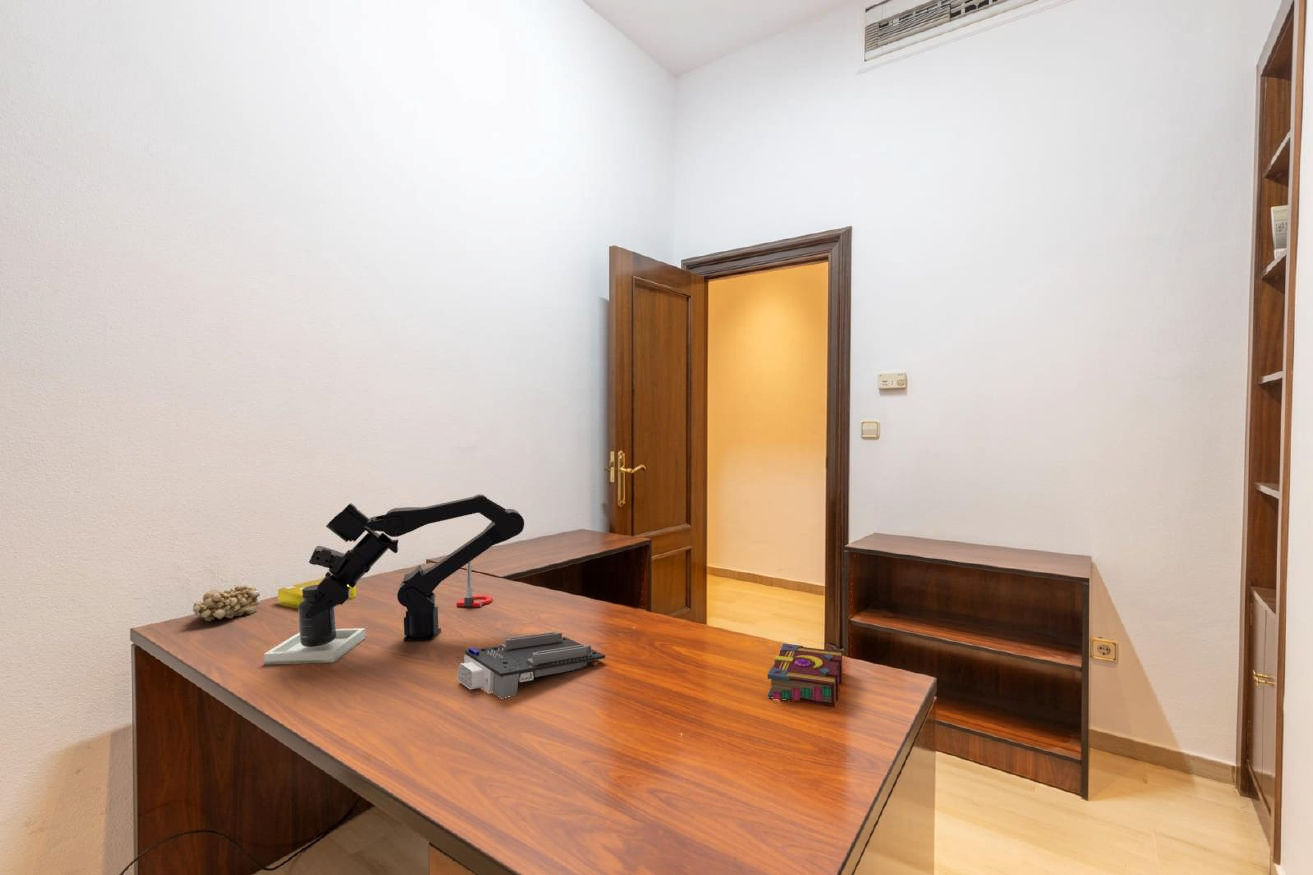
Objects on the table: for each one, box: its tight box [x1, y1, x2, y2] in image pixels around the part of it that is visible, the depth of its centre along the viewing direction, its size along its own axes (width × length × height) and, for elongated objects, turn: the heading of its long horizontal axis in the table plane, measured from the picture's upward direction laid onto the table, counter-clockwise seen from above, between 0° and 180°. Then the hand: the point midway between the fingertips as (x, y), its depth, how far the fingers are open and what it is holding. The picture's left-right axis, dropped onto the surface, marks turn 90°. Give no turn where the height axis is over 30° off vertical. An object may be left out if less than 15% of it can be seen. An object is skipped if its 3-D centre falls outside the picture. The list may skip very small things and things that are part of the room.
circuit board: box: [456, 631, 606, 700], centre depth 116 cm, size 25×7×15 cm
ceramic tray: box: [263, 627, 366, 666], centre depth 129 cm, size 14×14×2 cm
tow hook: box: [456, 560, 494, 609], centre depth 162 cm, size 8×13×9 cm
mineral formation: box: [192, 583, 262, 622], centre depth 153 cm, size 8×13×15 cm
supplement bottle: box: [297, 585, 337, 647], centre depth 129 cm, size 7×7×12 cm
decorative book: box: [767, 643, 843, 708], centre depth 107 cm, size 11×16×5 cm
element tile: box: [277, 577, 357, 610], centre depth 168 cm, size 15×15×5 cm
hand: (309, 612), depth 129 cm, fingers closed on supplement bottle, 7 cm apart
